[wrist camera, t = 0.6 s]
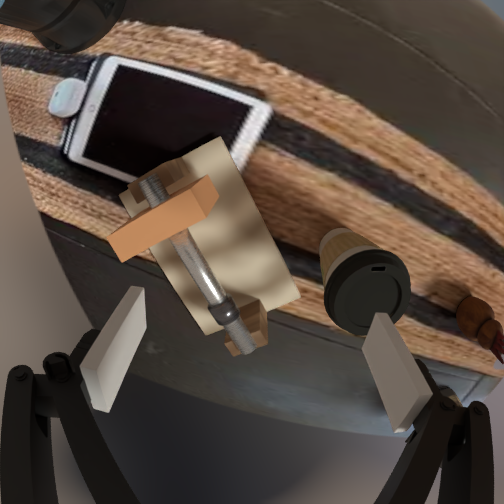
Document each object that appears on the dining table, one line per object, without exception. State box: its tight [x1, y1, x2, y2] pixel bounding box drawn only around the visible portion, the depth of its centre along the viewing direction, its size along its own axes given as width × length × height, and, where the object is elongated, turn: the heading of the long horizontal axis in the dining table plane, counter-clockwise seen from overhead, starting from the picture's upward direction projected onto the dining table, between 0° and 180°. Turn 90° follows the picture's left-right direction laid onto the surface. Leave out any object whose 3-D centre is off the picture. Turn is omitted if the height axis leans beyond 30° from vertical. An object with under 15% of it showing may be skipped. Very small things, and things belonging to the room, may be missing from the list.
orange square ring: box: [107, 174, 219, 262], centre depth 33 cm, size 3×10×10 cm, turn 116°
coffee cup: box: [319, 228, 411, 336], centre depth 36 cm, size 10×10×15 cm
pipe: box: [138, 173, 257, 354], centre depth 35 cm, size 24×3×3 cm, turn 26°
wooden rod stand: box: [119, 136, 301, 356], centre depth 39 cm, size 25×16×9 cm, turn 26°
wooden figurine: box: [456, 297, 504, 364], centre depth 40 cm, size 7×6×15 cm
